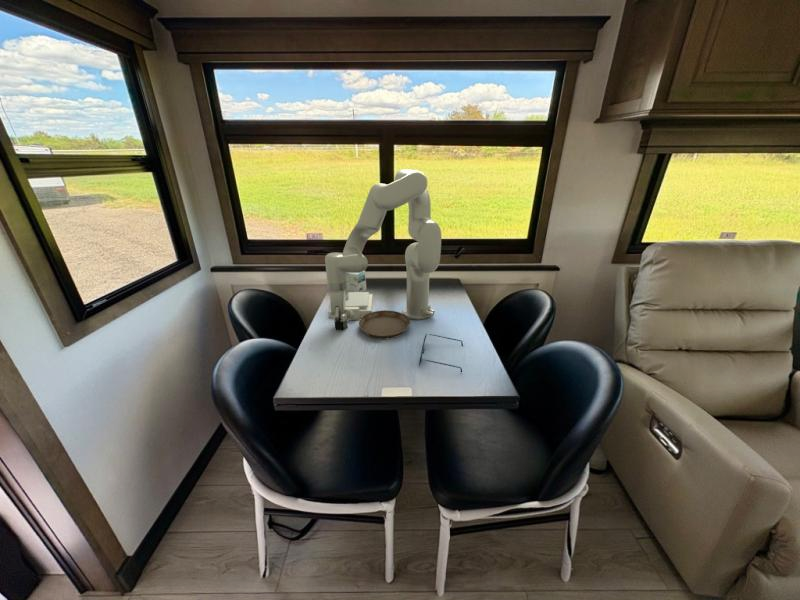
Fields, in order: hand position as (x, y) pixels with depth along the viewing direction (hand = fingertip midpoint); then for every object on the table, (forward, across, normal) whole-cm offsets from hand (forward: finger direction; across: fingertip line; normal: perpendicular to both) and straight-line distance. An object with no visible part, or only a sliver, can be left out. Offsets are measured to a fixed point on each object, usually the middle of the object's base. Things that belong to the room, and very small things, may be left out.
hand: (340, 324), depth 135 cm
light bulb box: (+1, -39, +2) cm, 39 cm away
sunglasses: (+2, +23, +38) cm, 44 cm away
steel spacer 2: (-4, -18, -1) cm, 18 cm away
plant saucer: (+2, +2, +18) cm, 18 cm away
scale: (+1, -16, +3) cm, 17 cm away
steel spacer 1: (+1, 0, 0) cm, 1 cm away
